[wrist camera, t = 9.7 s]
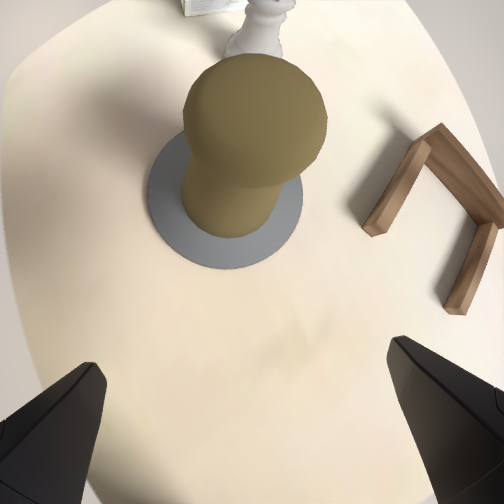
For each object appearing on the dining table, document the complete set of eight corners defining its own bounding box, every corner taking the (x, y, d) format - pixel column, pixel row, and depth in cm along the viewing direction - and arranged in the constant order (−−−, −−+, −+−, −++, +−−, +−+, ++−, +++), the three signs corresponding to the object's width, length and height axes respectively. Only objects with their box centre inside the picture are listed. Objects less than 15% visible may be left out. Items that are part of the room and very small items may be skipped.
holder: (449, 314, 23) (483, 316, 19) (361, 228, 22) (392, 216, 18) (486, 224, 24) (516, 217, 21) (413, 141, 24) (441, 122, 20)
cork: (259, 252, 20) (330, 212, 9) (166, 219, 19) (133, 140, 8) (287, 167, 21) (364, 70, 10) (201, 135, 20) (212, 13, 9)
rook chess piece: (231, 84, 21) (248, 8, 14) (217, 44, 22) (229, -30, 14) (286, 78, 22) (320, 8, 14) (269, 39, 23) (294, -30, 15)
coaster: (265, 295, 20) (267, 295, 20) (122, 228, 19) (120, 227, 19) (320, 162, 22) (322, 159, 21) (192, 103, 21) (192, 99, 20)
